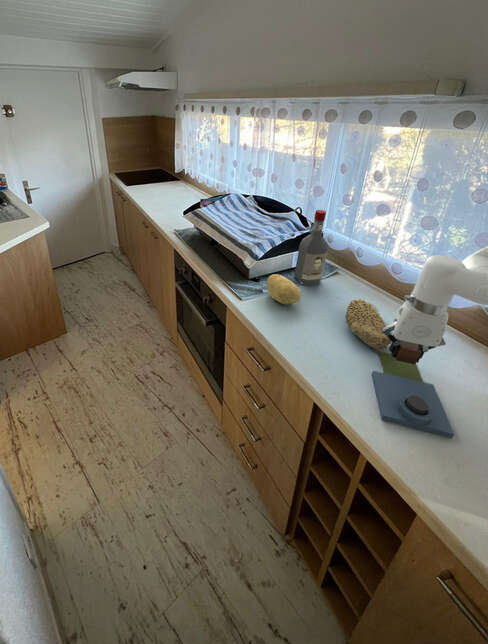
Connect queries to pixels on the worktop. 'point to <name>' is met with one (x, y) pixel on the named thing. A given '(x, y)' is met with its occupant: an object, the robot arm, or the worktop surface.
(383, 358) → the pad
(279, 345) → the worktop surface
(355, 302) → the sponge
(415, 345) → the block
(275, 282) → the potato
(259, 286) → the worktop surface
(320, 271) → the liquor
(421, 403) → the button
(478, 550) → the worktop surface
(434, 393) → the box
